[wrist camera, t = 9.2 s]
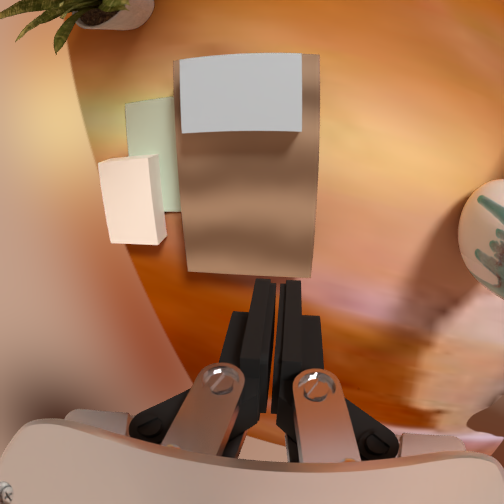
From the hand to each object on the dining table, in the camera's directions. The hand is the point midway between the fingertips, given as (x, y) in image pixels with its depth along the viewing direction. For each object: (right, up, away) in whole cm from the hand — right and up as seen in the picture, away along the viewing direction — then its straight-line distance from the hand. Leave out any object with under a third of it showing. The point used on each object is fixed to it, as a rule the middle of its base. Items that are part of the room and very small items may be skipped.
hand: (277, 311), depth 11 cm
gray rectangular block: (-2, +15, +10) cm, 18 cm away
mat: (-10, +12, +17) cm, 24 cm away
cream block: (-14, +7, +17) cm, 23 cm away
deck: (-1, +11, +17) cm, 20 cm away
